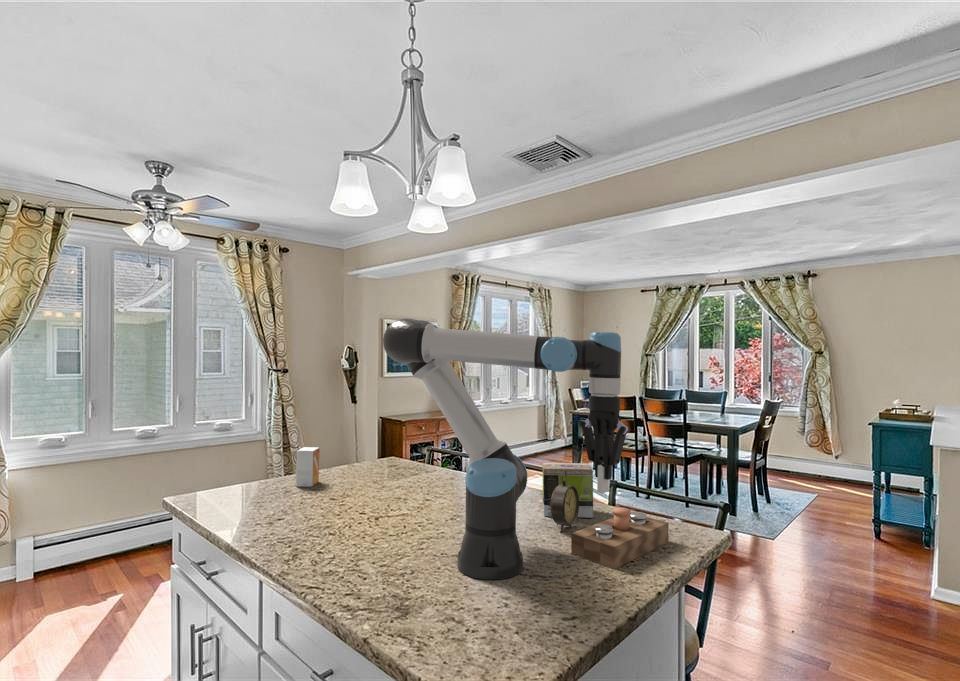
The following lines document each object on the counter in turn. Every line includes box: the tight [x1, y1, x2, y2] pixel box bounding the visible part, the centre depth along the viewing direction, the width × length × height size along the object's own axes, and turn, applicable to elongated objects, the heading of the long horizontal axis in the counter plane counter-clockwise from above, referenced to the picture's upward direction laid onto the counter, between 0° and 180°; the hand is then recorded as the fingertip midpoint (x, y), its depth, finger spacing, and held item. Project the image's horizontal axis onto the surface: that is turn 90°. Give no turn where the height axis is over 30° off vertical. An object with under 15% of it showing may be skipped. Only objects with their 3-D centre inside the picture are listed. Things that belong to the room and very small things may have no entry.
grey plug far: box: [629, 511, 648, 525], centre depth 135 cm, size 4×4×5 cm
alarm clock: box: [550, 470, 579, 534], centre depth 144 cm, size 11×5×16 cm, turn 147°
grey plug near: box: [595, 525, 613, 540], centre depth 124 cm, size 4×4×5 cm
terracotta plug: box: [612, 507, 632, 532], centre depth 130 cm, size 4×4×5 cm
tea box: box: [542, 462, 594, 519], centre depth 158 cm, size 15×10×15 cm
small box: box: [295, 446, 321, 488], centre depth 189 cm, size 8×6×13 cm
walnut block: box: [570, 516, 669, 570], centre depth 130 cm, size 26×12×5 cm, turn 133°
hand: (603, 491), depth 125 cm, fingers closed
